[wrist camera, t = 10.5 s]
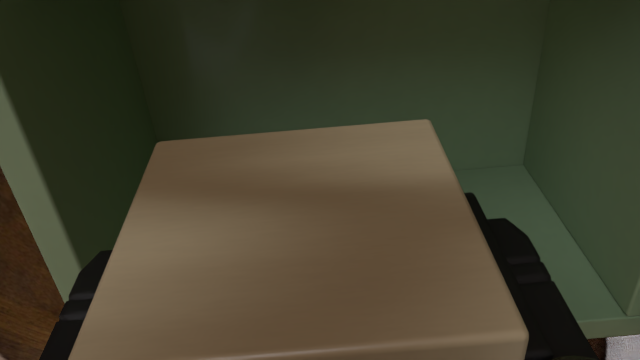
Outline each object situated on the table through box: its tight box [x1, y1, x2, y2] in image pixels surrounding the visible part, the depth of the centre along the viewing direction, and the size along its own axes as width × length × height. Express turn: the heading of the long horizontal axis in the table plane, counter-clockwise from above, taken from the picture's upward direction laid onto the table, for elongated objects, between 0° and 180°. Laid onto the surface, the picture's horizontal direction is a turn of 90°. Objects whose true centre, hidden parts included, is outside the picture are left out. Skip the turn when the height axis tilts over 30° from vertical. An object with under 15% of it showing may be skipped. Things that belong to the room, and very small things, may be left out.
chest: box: [0, 0, 640, 339], centre depth 16 cm, size 16×13×9 cm
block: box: [68, 119, 529, 360], centre depth 8 cm, size 5×5×5 cm
